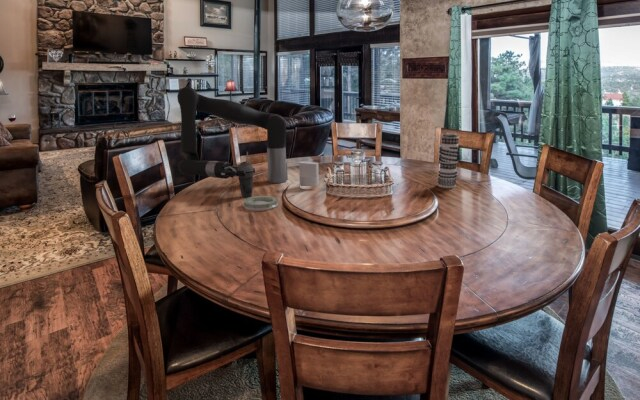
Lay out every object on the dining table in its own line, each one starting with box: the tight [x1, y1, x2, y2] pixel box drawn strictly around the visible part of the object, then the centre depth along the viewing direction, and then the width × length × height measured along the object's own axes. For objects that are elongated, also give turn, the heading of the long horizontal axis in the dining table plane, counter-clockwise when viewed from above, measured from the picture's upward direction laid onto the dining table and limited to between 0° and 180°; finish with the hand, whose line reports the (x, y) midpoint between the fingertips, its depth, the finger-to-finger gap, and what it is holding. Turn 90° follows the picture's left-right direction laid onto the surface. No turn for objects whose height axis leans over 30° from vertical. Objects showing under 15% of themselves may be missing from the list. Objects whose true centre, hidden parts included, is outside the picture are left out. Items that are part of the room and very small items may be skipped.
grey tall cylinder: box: [437, 132, 461, 189], centre depth 207 cm, size 9×9×25 cm
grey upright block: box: [298, 161, 319, 186], centre depth 208 cm, size 9×9×12 cm
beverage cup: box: [237, 151, 255, 199], centre depth 192 cm, size 7×7×20 cm
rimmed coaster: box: [242, 195, 279, 212], centre depth 180 cm, size 14×14×2 cm
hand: (249, 172), depth 191 cm, fingers closed on beverage cup, 7 cm apart
